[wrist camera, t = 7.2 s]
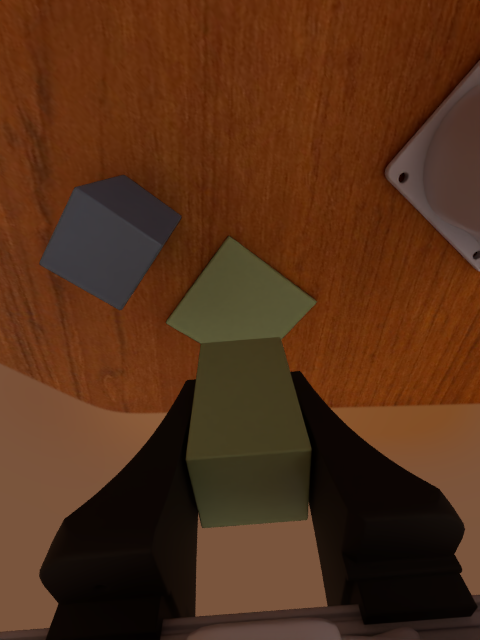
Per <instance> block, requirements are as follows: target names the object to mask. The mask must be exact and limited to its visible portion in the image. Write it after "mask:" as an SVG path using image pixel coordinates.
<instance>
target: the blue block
mask: <svg viewBox="0 0 480 640" xmlns="http://www.w3.org/2000/svg"><path fill="white" fill-rule="evenodd" d="M180 220H181V215H179V214H178V213H176V212H175V211H174V210H172V209H171V208H170V207H168V206H167V205H165V204H164V203H163V202H161V201H160V200H159V199H157V198H156V197H154V196H153V195H152V194H150V193H149V192H147V191H146V190H145V189H143V188H142V187H141V186H139V185H138V184H136V183H135V182H134V181H132V180H131V179H130V178H128V177H127V176H125V175H121V176H117V177H113V178H109V179H105V180H101V181H97V182H94V183H90V184H86V185H82V186H78V187H75V188H74V190H73V192H72V194H71V196H70V198H69V201H68V203H67V205H66V207H65V209H64V211H63V213H62V215H61V218H60V220H59V222H58V224H57V226H56V228H55V230H54V232H53V235H52V237H51V239H50V241H49V243H48V245H47V247H46V250H45V252H44V254H43V256H42V258H41V260H40V263H39V264H40V265H41V266H43V267H45V268H46V269H48V270H50V271H52V272H53V273H55V274H57V275H59V276H60V277H62V278H64V279H66V280H68V281H69V282H71V283H73V284H75V285H76V286H78V287H80V288H82V289H83V290H85V291H87V292H89V293H90V294H92V295H94V296H96V297H97V298H99V299H101V300H103V301H104V302H106V303H108V304H110V305H111V306H113V307H115V308H117V309H118V310H122V309H123V308H124V306H125V304H126V303H127V301H128V300H129V298H130V297H131V295H132V294H133V292H134V291H135V289H136V288H137V286H138V285H139V283H140V281H141V280H142V278H143V277H144V275H145V274H146V272H147V271H148V269H149V268H150V266H151V265H152V263H153V261H154V260H155V258H156V257H157V255H158V254H159V252H160V251H161V249H162V247H163V246H164V244H165V243H166V241H167V240H168V238H169V237H170V235H171V234H172V232H173V230H174V229H175V227H176V226H177V224H178V223H179V221H180Z"/></svg>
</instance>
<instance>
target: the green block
mask: <svg viewBox="0 0 480 640" xmlns="http://www.w3.org/2000/svg"><path fill="white" fill-rule="evenodd" d="M311 455H312V448H311V444H310V441H309V437H308V434H307V430H306V427H305V423H304V420H303V416H302V412H301V409H300V405H299V402H298V398H297V395H296V391H295V387H294V384H293V380H292V377H291V373H290V370H289V366H288V363H287V359H286V355H285V352H284V348H283V345H282V341H281V338H280V337H271V338H259V339H247V340H234V341H222V342H209V343H201V347H200V354H199V362H198V369H197V377H196V384H195V391H194V399H193V406H192V414H191V421H190V429H189V436H188V443H187V451H186V458H185V460H186V464H187V468H188V472H189V476H190V480H191V485H192V489H193V493H194V497H195V501H196V505H197V509H198V513H199V517H200V521H201V526H202V528H211V527H224V526H236V525H250V524H262V523H274V522H287V521H301V520H307V518H308V504H309V488H310V471H311Z"/></svg>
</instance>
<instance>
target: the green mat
mask: <svg viewBox="0 0 480 640" xmlns="http://www.w3.org/2000/svg"><path fill="white" fill-rule="evenodd" d="M315 304H316V300H315V299H314V298H312V297H311V296H310V295H308V294H307V293H306V292H304V291H303V290H302V289H300V288H299V287H298V286H296V285H295V284H293V283H292V282H291V281H289V280H288V279H287V278H285V277H284V276H283V275H281V274H280V273H279V272H277V271H276V270H275V269H273V268H272V267H271V266H269V265H268V264H267V263H265V262H264V261H263V260H261V259H260V258H258V257H257V256H256V255H254V254H253V253H252V252H250V251H249V250H248V249H246V248H245V247H244V246H242V245H241V244H240V243H238V242H237V241H236V240H234V239H233V238H232V237H230V236H228V237H227V239H226V240H225V241H224V243H223V244H222V245H221V247H220V248H219V250H218V251H217V252H216V254H215V255H214V256H213V258H212V259H211V260H210V262H209V263H208V265H207V266H206V267H205V269H204V270H203V271H202V273H201V274H200V276H199V277H198V278H197V280H196V281H195V282H194V284H193V285H192V287H191V288H190V289H189V291H188V292H187V293H186V295H185V296H184V297H183V299H182V300H181V302H180V303H179V304H178V306H177V307H176V308H175V310H174V311H173V313H172V314H171V315H170V317H169V318H168V319H167V321H166V324H168V325H170V326H171V327H173V328H175V329H177V330H178V331H180V332H182V333H183V334H185V335H187V336H189V337H190V338H192V339H194V340H195V341H197V342H199V343H200V344H201V343H209V342H222V341H234V340H247V339H259V338H271V337H280V338H281V339H282V338H283V337H284V336H285V335H286V334H287V333H288V332H289V331H290V330H291V329H292V328H293V327H294V326H295V325H296V324H297V322H298V321H299V320H300V319H301V318H302V317H303V316H304V315H305V314H306V313H307V312H308V311H309V310H310V309H311V308H312V307H313V306H314V305H315Z"/></svg>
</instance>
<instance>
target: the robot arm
mask: <svg viewBox="0 0 480 640" xmlns="http://www.w3.org/2000/svg"><path fill="white" fill-rule="evenodd" d="M402 173H404V174H405V178H404V180H403V181H402V182H399V180H398V179H399V176H400V174H402ZM385 177H386V178H387V180H388V181H389V182H390V183H391V184H392V185H393V186H394V187H395V188H396V189H397V190H398V191H399V192H400V193H401V194H402V195H403V196H404V197H405V198H406V199H407V200H408V201H409V202H410V203H411V204H412V205H413V206H414V207H415V208H416V209H417V210H418V211H419V212H420V213H421V214H422V215H423V216H424V217H425V219H426V220H427V221H428V222H429V223H430V224H431V225H432V226H433V227H434V228H435V229H436V230H437V231H438V232H439V233H440V234H441V235H442V236H443V237H444V238H445V239H446V240H447V241H448V242H449V243H450V244H451V245H452V246H453V247H454V248H455V249H456V250H457V251H458V252H459V253H460V254H461V255H462V256H463V257H464V258H465V259H466V260H467V261H468V262H469V263H470V264H471V265H472V266H473V267H474V268H475V269H476V270H478V271H480V60H479V61H478V63H477V64H476V65H475V66H474V67H473V68H472V69H471V71H470V72H469V73H468V74H467V75H466V76H465V77H464V79H463V80H462V81H461V82H460V83H459V84H458V85H457V87H456V88H455V89H454V90H453V91H452V92H451V93H450V95H449V96H448V97H447V98H446V99H445V100H444V101H443V103H442V104H441V105H440V106H439V107H438V108H437V109H436V111H435V112H434V113H433V114H432V115H431V116H430V117H429V119H428V120H427V121H426V122H425V123H424V124H423V125H422V127H421V128H420V129H419V130H418V131H417V132H416V133H415V135H414V136H413V137H412V138H411V139H410V140H409V141H408V143H407V144H406V145H405V146H404V147H403V148H402V149H401V151H400V152H399V153H398V154H397V155H396V156H395V157H394V159H393V160H392V161H391V162H390V163H389V164H388V166H387V167H386V170H385ZM475 252H477V254H476V255H475V256H474V257H473V254H474V253H475ZM290 373H291V377H292V380H293V384H294V387H295V391H296V395H297V398H298V402H299V405H300V409H301V412H302V416H303V420H304V423H305V427H306V430H307V434H308V437H309V441H310V444H311V448H312V455H311V471H310V488H309V505H310V509H311V515H312V521H313V526H314V531H315V537H316V541H317V547H318V553H319V558H320V564H321V570H322V575H323V581H324V587H325V593H326V598H327V605H328V607H315V608H303V609H289V610H276V611H263V612H251V613H238V614H225V615H213V616H199V617H195V601H196V599H195V598H196V554H197V527H198V526H197V525H198V509H197V505H196V501H195V497H194V493H193V489H192V485H191V480H190V476H189V472H188V468H187V464H186V460H185V458H186V451H187V443H188V436H189V429H190V421H191V414H192V406H193V399H194V391H195V384H196V379H194V380H187V381H186V382H185V384H184V386H183V388H182V390H181V391H180V393H179V395H178V397H177V399H176V400H175V402H174V404H173V405H172V407H171V408H170V410H169V412H168V413H167V415H166V416H165V418H164V419H163V421H162V422H161V424H160V425H159V427H158V428H157V429H156V431H155V432H154V434H153V435H152V436H151V437H150V439H149V440H148V441H147V443H146V444H145V445H144V446H143V447H142V448H141V450H140V451H139V452H138V453H137V454H136V455H135V457H134V458H133V459H132V460H131V461H130V462H129V463H128V464H127V465H126V466H125V467H124V468H123V469H122V470H121V471H120V472H119V473H118V475H116V476H115V477H114V478H113V479H112V480H111V481H110V482H109V483H108V484H107V485H105V487H103V488H102V489H101V490H100V491H99V492H98V493H97V494H96V495H94V496H93V497H92V498H91V499H90V500H88V501H87V502H86V503H85V504H83V505H82V506H81V507H79V508H78V509H77V510H76V511H74V512H73V513H72V514H71V515H69V516H68V517H66V518H65V519H64V521H63V523H62V525H61V526H60V528H59V530H58V532H57V534H56V536H55V538H54V540H53V542H52V544H51V546H50V548H49V551H48V553H47V555H46V558H45V560H44V562H43V564H42V566H41V569H40V574H39V577H40V579H41V581H42V583H43V585H44V586H45V588H46V589H47V590H48V591H49V592H50V594H51V595H52V596H53V597H54V598H55V600H56V601H57V602H58V603H59V604H58V607H57V610H56V613H55V615H54V618H53V621H52V623H51V626H50V628H44V629H31V630H18V631H6V632H0V640H480V595H471V593H470V592H469V590H468V588H467V586H466V584H465V582H464V580H463V579H462V577H461V575H460V573H461V572H462V568H461V565H460V564H459V562H458V560H457V559H456V556H455V555H454V553H455V552H456V550H457V547H458V546H459V544H460V542H461V540H462V538H463V535H464V531H465V528H464V524H463V522H462V520H461V519H460V517H459V516H458V514H457V513H456V511H455V509H454V508H453V507H452V505H451V504H450V502H449V501H448V500H447V499H446V497H445V496H444V495H443V493H442V492H441V491H440V489H438V488H436V487H435V486H433V485H431V484H429V483H428V482H426V481H424V480H422V479H421V478H419V477H417V476H415V475H414V474H412V473H410V472H408V471H407V470H405V469H404V468H402V467H401V466H399V465H397V464H396V463H394V462H393V461H391V460H390V459H388V458H387V457H386V456H384V455H383V454H382V453H380V452H379V451H377V450H376V449H375V448H373V447H372V446H371V445H369V444H368V443H367V442H366V441H364V440H363V439H362V438H361V437H360V436H358V435H357V434H356V433H355V432H354V431H353V430H352V429H350V428H349V427H348V426H347V425H346V424H345V423H344V422H343V421H342V420H341V419H340V418H339V417H338V416H337V415H336V414H335V413H334V412H333V411H332V410H331V409H330V408H329V407H328V405H327V404H326V403H325V402H324V401H323V400H322V399H321V397H320V396H319V395H318V394H317V393H316V391H315V390H314V389H313V388H312V386H311V385H310V384H309V382H308V381H307V380H306V378H305V377H304V375H303V374H302V373H301V372H300V371H294V372H290Z"/></svg>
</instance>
